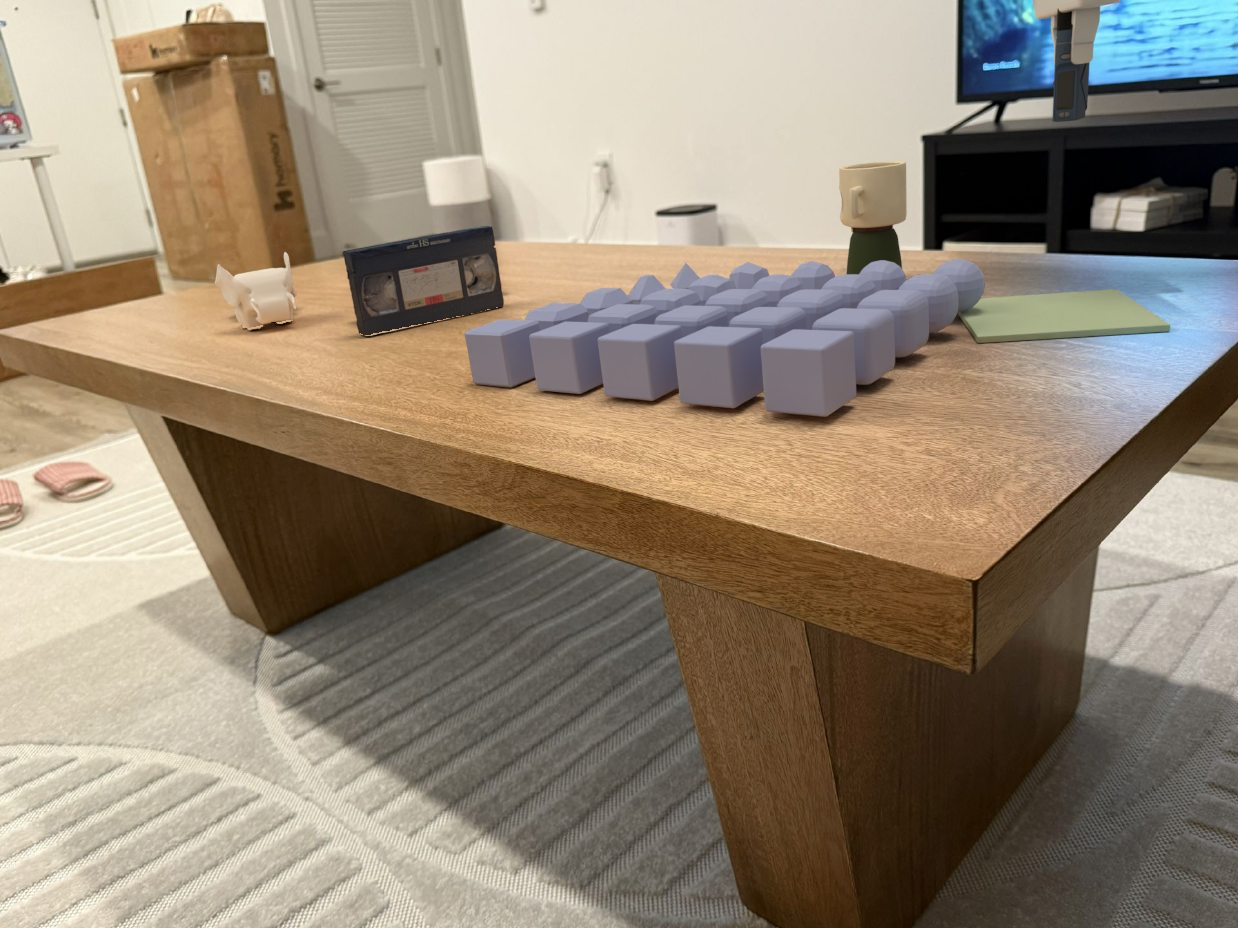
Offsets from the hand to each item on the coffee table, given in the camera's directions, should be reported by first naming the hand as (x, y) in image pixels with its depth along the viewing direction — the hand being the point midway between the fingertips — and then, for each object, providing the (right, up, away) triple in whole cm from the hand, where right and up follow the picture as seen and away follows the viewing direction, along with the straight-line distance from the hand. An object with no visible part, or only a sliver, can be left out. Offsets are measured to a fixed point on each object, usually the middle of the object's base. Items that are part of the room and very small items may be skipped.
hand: (1072, 64), depth 96 cm
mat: (-5, -26, -7) cm, 27 cm away
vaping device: (+1, -5, +2) cm, 5 cm away
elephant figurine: (-89, -21, +32) cm, 97 cm away
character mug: (-15, -19, +16) cm, 29 cm away
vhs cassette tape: (-66, -22, +24) cm, 74 cm away
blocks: (-33, -28, -5) cm, 44 cm away
